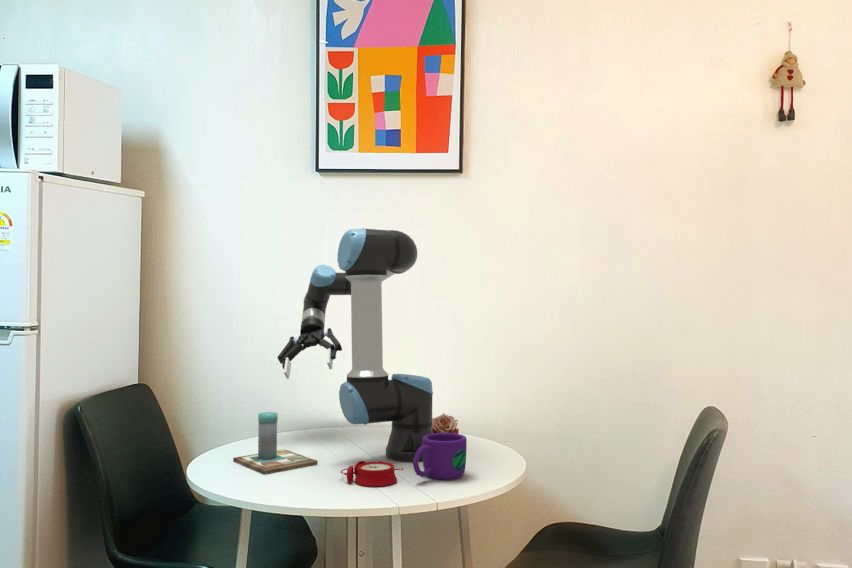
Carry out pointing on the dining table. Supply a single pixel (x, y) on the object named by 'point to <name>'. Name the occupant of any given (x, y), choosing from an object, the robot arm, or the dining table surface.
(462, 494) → the dining table surface
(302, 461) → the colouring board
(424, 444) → the mug
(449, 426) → the flower
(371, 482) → the alarm clock
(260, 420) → the grey teal canister
